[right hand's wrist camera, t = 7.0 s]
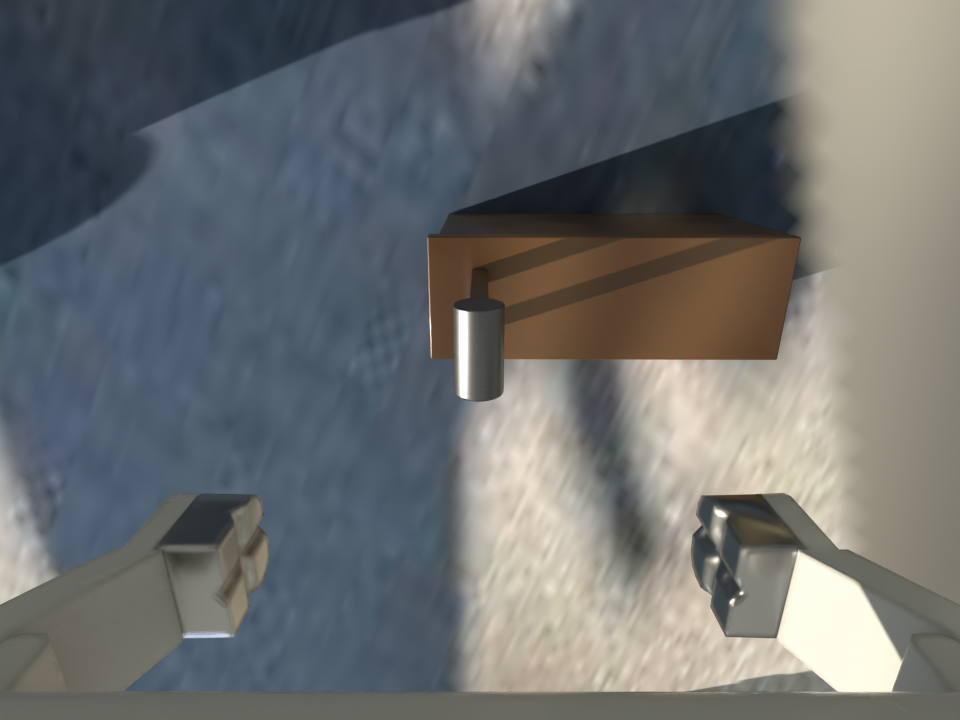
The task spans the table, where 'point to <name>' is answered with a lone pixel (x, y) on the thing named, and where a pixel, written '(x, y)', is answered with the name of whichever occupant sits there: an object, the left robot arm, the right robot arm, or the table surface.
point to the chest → (601, 224)
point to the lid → (603, 299)
